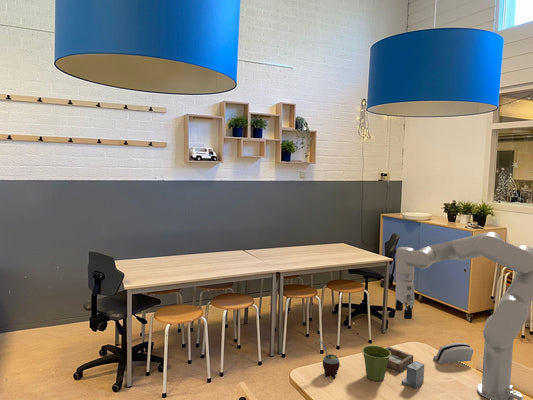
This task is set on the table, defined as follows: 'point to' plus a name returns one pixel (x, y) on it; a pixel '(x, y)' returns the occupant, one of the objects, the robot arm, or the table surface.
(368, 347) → the plant pot
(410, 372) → the grey block
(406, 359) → the square wooden tray
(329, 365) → the mate gourd
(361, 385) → the table surface
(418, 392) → the table surface
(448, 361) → the grey rounded block
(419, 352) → the table surface
